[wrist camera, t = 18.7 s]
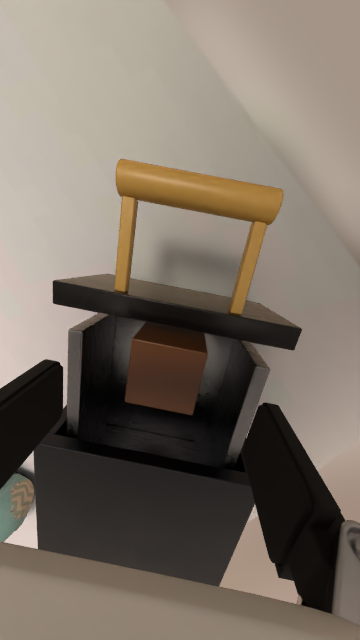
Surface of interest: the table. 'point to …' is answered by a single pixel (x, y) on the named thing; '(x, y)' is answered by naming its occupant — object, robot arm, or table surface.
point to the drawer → (175, 311)
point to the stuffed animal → (14, 504)
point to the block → (166, 368)
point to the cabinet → (138, 507)
